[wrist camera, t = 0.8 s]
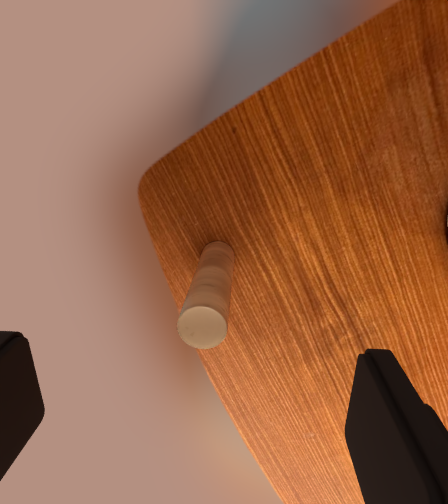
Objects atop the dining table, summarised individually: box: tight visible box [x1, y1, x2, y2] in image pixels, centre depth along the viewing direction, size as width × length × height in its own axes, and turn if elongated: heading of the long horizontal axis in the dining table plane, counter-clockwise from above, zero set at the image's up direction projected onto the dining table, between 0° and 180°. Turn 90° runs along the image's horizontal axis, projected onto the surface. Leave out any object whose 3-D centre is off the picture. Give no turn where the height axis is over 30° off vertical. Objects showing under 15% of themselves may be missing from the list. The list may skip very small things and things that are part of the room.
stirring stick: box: [177, 241, 235, 349], centre depth 27 cm, size 3×3×12 cm
